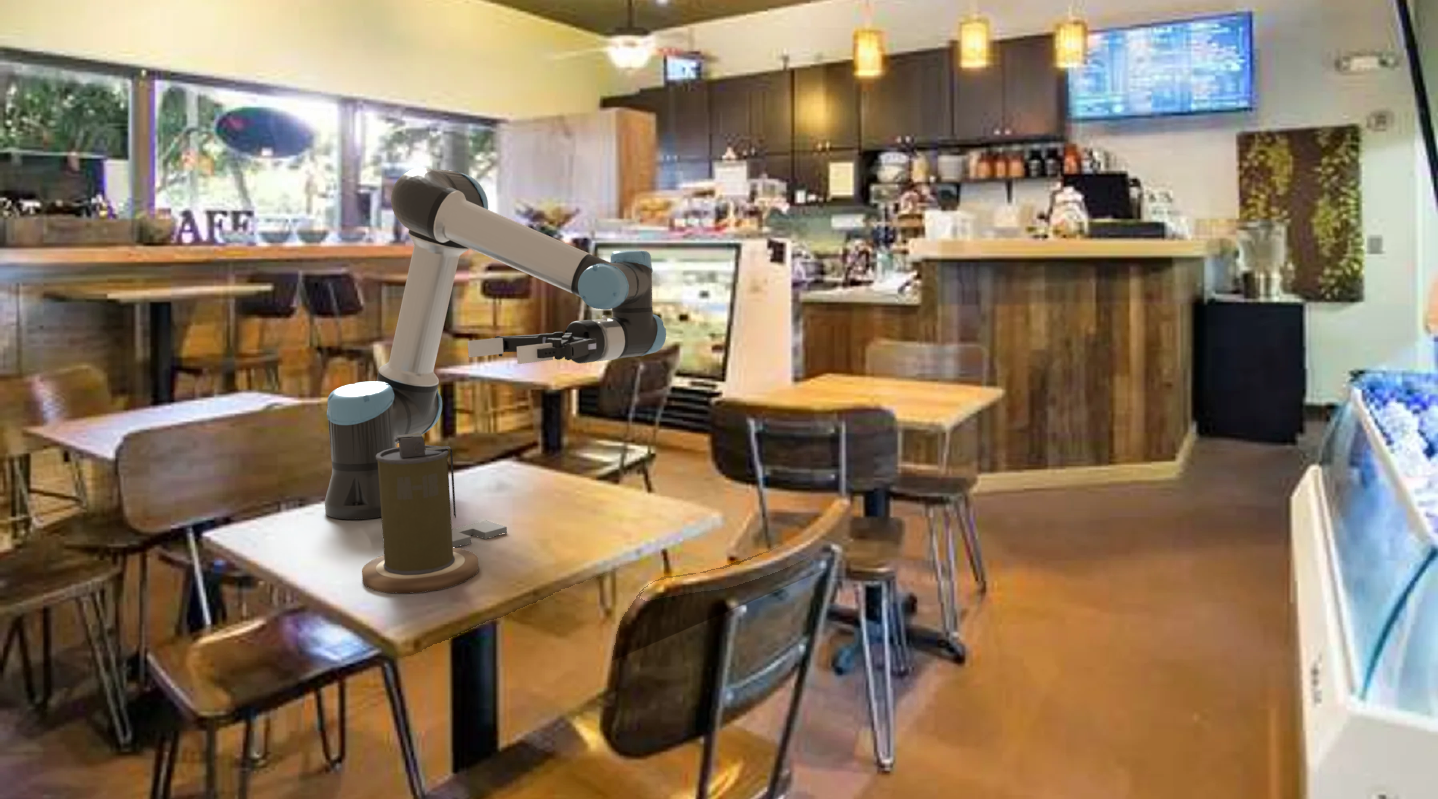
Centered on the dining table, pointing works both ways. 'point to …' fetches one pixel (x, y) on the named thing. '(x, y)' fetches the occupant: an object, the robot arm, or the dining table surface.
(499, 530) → the notched board
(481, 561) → the dining table surface
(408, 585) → the beige plate
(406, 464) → the canister
